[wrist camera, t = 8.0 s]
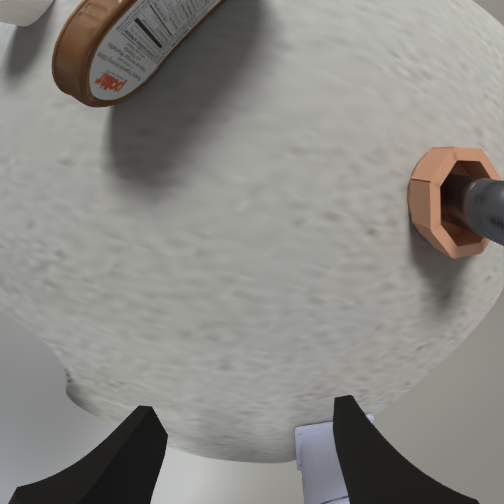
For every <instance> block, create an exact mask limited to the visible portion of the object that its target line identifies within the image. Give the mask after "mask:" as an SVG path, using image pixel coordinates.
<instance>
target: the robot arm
mask: <svg viewBox="0 0 504 504" xmlns="http://www.w3.org/2000/svg"><path fill="white" fill-rule="evenodd" d="M373 420H374V415H373V414H366V415H365V414H364V412H363V411H362V409H361V408H360V407H359V405H358V404H357V402H356V401H355V399H354V397H353V396H351V395H347V396H342V397H336V398H335V401H334V415H333V421H332V422H326V423H319V424H313V425H305V426H298V427H296V428H295V429H294V431H295V444H296V458H297V469H298V470H302V481H303V494H304V504H479V502H478V501H477V500H476V499H473V498H470V497H467V496H465V495H462V494H460V493H458V492H456V491H454V490H452V489H450V488H448V487H446V486H444V485H442V484H441V483H439V482H437V481H436V480H434V479H433V478H431V477H429V476H428V475H426V474H425V473H423V472H422V471H421V470H419V469H418V468H417V467H415V466H414V465H413V464H411V463H410V462H409V461H408V460H407V459H405V458H404V457H403V456H402V455H401V454H400V453H399V452H398V451H397V450H396V449H395V448H394V447H393V446H392V445H391V444H390V443H389V442H388V441H387V440H386V439H385V438H384V437H383V436H382V435H381V434H380V432H379V431H378V430H377V429H376V428H375V426H374V425H373ZM167 438H168V434H167V433H166V431H165V429H164V428H163V426H162V424H161V422H160V421H159V419H158V417H157V415H156V413H155V411H154V410H153V408H152V406H140V405H139V406H138V407H137V408H136V409H135V410H134V411H133V412H132V413H131V414H130V415H129V416H128V417H127V418H126V419H125V420H124V421H123V422H122V423H121V424H120V425H119V426H118V427H117V428H116V429H115V430H114V431H113V432H112V433H111V434H110V435H109V436H108V437H107V438H106V439H105V440H104V441H103V442H102V443H100V444H99V445H98V446H97V447H96V448H95V449H94V450H92V451H91V452H90V453H89V454H87V455H86V456H85V457H84V458H82V459H81V460H79V461H78V462H76V463H75V464H73V465H71V466H70V467H68V468H66V469H64V470H63V471H61V472H59V473H57V474H55V475H53V476H51V477H48V478H46V479H43V480H41V481H38V482H35V483H32V484H28V485H24V486H20V487H17V489H16V490H15V492H14V494H13V496H12V498H11V500H10V501H9V503H8V504H150V502H151V498H152V494H153V490H154V488H155V484H156V481H157V478H158V475H159V472H160V469H161V466H162V462H163V459H164V456H165V450H166V445H167Z"/></svg>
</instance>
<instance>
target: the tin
mask: <svg viewBox="0 0 504 504" xmlns="http://www.w3.org/2000/svg"><path fill="white" fill-rule="evenodd" d="M224 1H225V0H83V1H82V2H81V3H80V4H79V5H78V6H77V8H76V9H75V10H74V11H73V13H72V14H71V15H70V16H69V18H68V19H67V21H66V23H65V24H64V26H63V28H62V30H61V32H60V34H59V36H58V39H57V41H56V44H55V48H54V52H53V56H52V74H53V78H54V81H55V83H56V85H57V86H58V88H59V89H60V90H61V91H62V92H64V93H66V94H68V95H71V96H73V97H74V98H76V99H77V100H78V101H80V102H82V103H83V104H85V105H87V106H90V107H108V106H112V105H115V104H117V103H119V102H121V101H123V100H124V99H126V98H128V97H129V96H130V95H132V94H133V93H135V92H136V91H137V90H138V89H139V88H141V87H142V86H143V85H144V84H145V83H146V82H147V81H148V80H149V79H150V78H151V77H152V76H153V75H154V74H155V72H156V71H157V70H158V69H159V68H160V66H161V65H162V64H163V63H164V62H165V61H166V60H167V58H168V57H169V56H170V55H171V54H172V53H173V52H174V51H175V49H176V48H177V47H178V46H179V45H180V44H181V43H182V42H183V41H184V40H185V39H186V38H187V37H188V36H189V35H190V34H191V33H192V32H193V31H194V30H195V29H196V28H197V27H198V26H199V25H200V24H201V23H202V22H203V21H204V20H205V19H206V18H207V17H208V16H209V15H210V14H211V13H212V12H213V11H214V10H215V9H216V8H218V7H219V6H220V5H221V4H222V3H223V2H224Z"/></svg>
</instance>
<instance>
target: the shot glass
mask: <svg viewBox="0 0 504 504" xmlns="http://www.w3.org/2000/svg"><path fill="white" fill-rule="evenodd" d="M53 1H54V0H0V22H4V23H9V24H14V25H18V26H22V27H25V26H29V25H31V24H32V23H34V22H35V21H37V20H38V19H39V18H40V17H41V16H42V15H43V14H44V13H45V12H46V10H47V9H48V8H49V7H50V5H51V4H52V3H53Z"/></svg>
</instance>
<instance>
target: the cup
mask: <svg viewBox="0 0 504 504" xmlns="http://www.w3.org/2000/svg"><path fill="white" fill-rule="evenodd" d="M448 174H458V175H466V176H474V177H481V178H488V179H494V180H500V181H501V179H500V177H499V175H498V174H497V172H496V170H495V169H494V167H493V166H492V164H491V162H490V161H489V159H488V158H487V156H486V154H485V153H484V151H483V150H481V149H473V148H458V147H443V148H432V149H430V151H429V152H428V153H427V154H426V155H424V156H423V157H422V158H421V159H420V161H419V162H418V163H417V165H416V166H415V168H414V170H413V172H412V175H411V178H410V182H409V187H408V207H409V212H410V216H411V219H412V222H413V224H414V226H415V227H416V229H417V230H418V232H419V233H420V234H421V235H422V236H423V237H424V238H425V239H427V240H428V241H429V242H430V244H431V245H432V246H433V247H434V248H435V249H437V250H439V251H441V252H442V253H444V254H446V255H448V256H449V257H451V258H453V259H456V258H461V257H466V256H471V255H476V254H481V252H483V251H484V249H485V248H486V246H487V245H488V243H489V241H490V240H489V239H487V238H485V237H482V236H480V235H478V234H475V233H473V232H471V231H468V230H466V229H463V228H461V227H458V226H456V225H453V224H450V223H448V222H445V221H443V220H441V211H440V186H441V184H442V183H443V181H444V180H445V178H446V177H447V175H448Z"/></svg>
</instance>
